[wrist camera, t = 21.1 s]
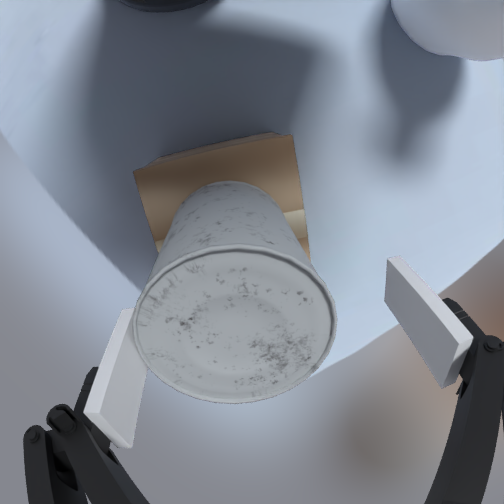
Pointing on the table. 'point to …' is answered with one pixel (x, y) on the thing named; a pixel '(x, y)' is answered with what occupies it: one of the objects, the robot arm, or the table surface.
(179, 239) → the grey cylinder
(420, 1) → the vase
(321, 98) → the table surface
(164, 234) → the lid
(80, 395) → the robot arm
